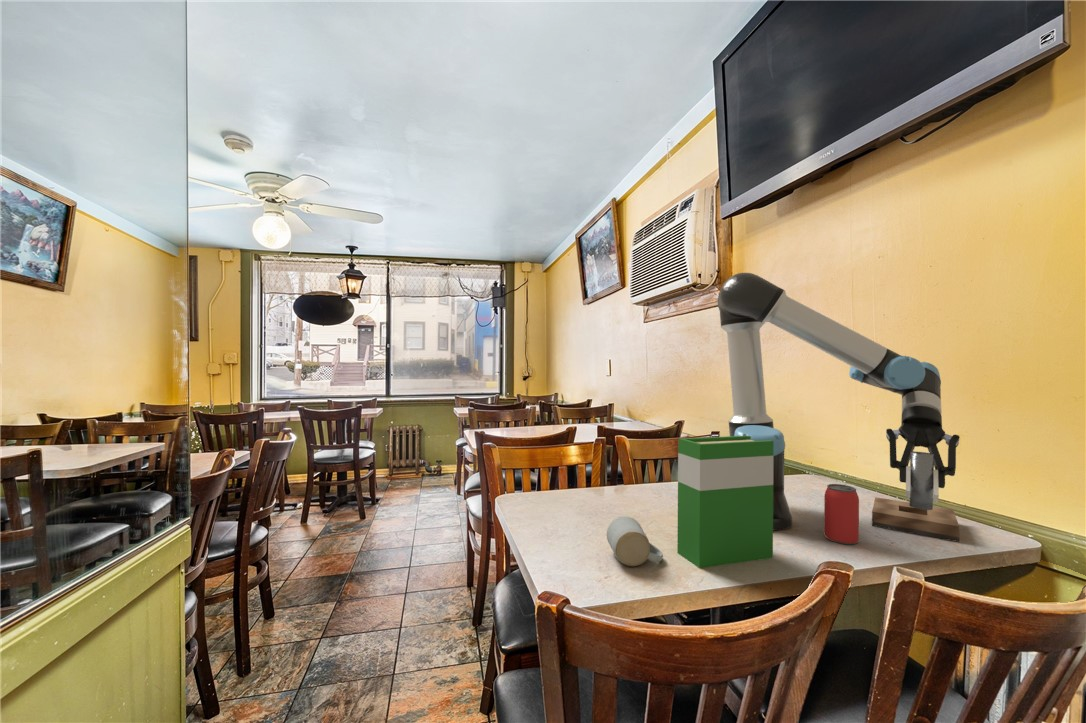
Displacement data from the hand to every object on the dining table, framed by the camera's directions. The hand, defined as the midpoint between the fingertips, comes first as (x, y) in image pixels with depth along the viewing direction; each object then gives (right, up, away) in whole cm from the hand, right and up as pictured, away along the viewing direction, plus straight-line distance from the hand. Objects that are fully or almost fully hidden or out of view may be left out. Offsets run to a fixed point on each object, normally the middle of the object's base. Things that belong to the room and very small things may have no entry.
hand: (921, 496), depth 98 cm
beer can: (-14, -12, +5) cm, 19 cm away
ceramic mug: (-63, -11, -6) cm, 65 cm away
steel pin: (+2, -3, +3) cm, 5 cm away
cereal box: (-44, -11, -4) cm, 46 cm away
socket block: (+11, -12, +16) cm, 23 cm away
